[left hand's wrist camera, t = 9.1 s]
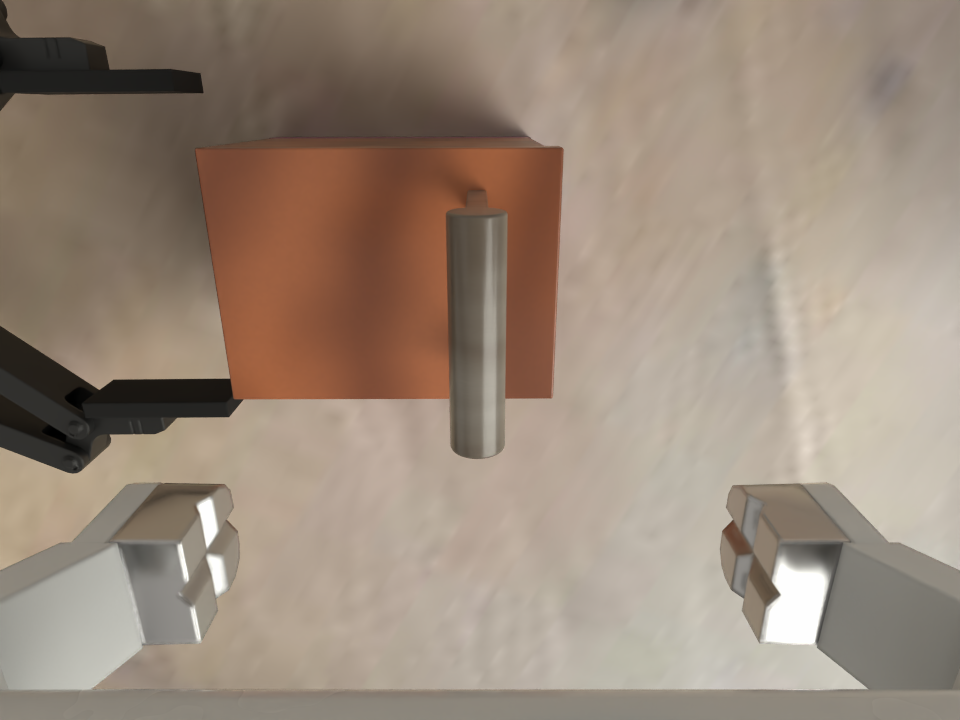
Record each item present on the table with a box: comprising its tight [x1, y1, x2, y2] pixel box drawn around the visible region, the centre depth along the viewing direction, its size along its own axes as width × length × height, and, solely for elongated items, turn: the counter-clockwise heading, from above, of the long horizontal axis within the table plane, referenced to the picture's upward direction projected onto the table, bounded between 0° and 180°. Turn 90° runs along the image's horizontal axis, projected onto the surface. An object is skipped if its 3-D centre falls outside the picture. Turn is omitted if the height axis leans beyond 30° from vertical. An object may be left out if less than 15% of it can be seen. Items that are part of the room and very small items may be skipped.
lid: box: [195, 146, 564, 459], centre depth 22 cm, size 13×10×8 cm
